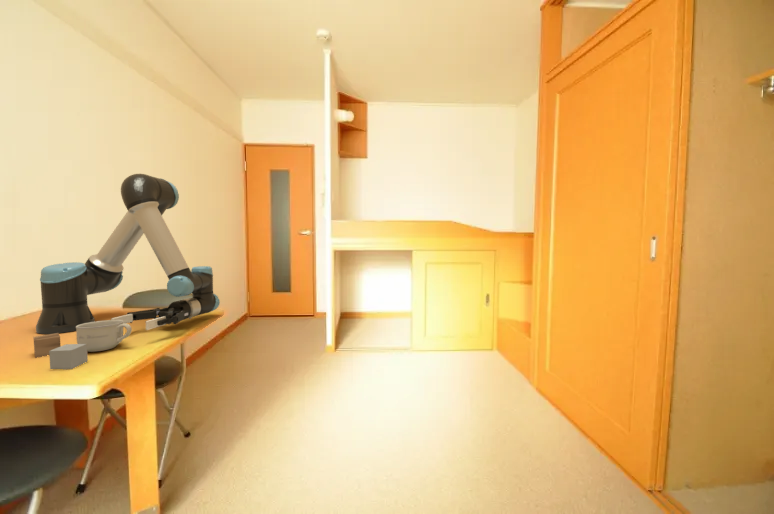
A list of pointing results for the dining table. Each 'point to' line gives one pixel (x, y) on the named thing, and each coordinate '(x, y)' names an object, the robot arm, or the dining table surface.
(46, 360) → the dining table surface
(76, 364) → the slate block
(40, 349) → the walnut block
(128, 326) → the teacup
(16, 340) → the dining table surface
